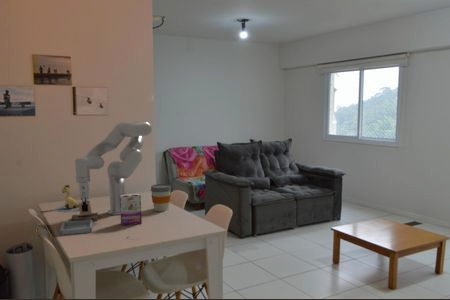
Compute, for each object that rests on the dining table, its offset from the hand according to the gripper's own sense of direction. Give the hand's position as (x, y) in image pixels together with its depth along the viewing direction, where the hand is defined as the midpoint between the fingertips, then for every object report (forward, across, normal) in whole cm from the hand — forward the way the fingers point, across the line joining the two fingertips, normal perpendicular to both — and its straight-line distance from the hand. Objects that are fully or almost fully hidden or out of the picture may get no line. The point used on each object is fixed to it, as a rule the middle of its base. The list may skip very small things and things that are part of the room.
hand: (85, 210), depth 218 cm
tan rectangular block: (+2, 0, 0) cm, 2 cm away
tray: (+5, -18, +4) cm, 19 cm away
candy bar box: (+6, -16, -24) cm, 30 cm away
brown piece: (+5, 0, 0) cm, 5 cm away
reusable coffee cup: (+6, +8, -45) cm, 46 cm away
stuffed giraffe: (+6, +29, +11) cm, 31 cm away
